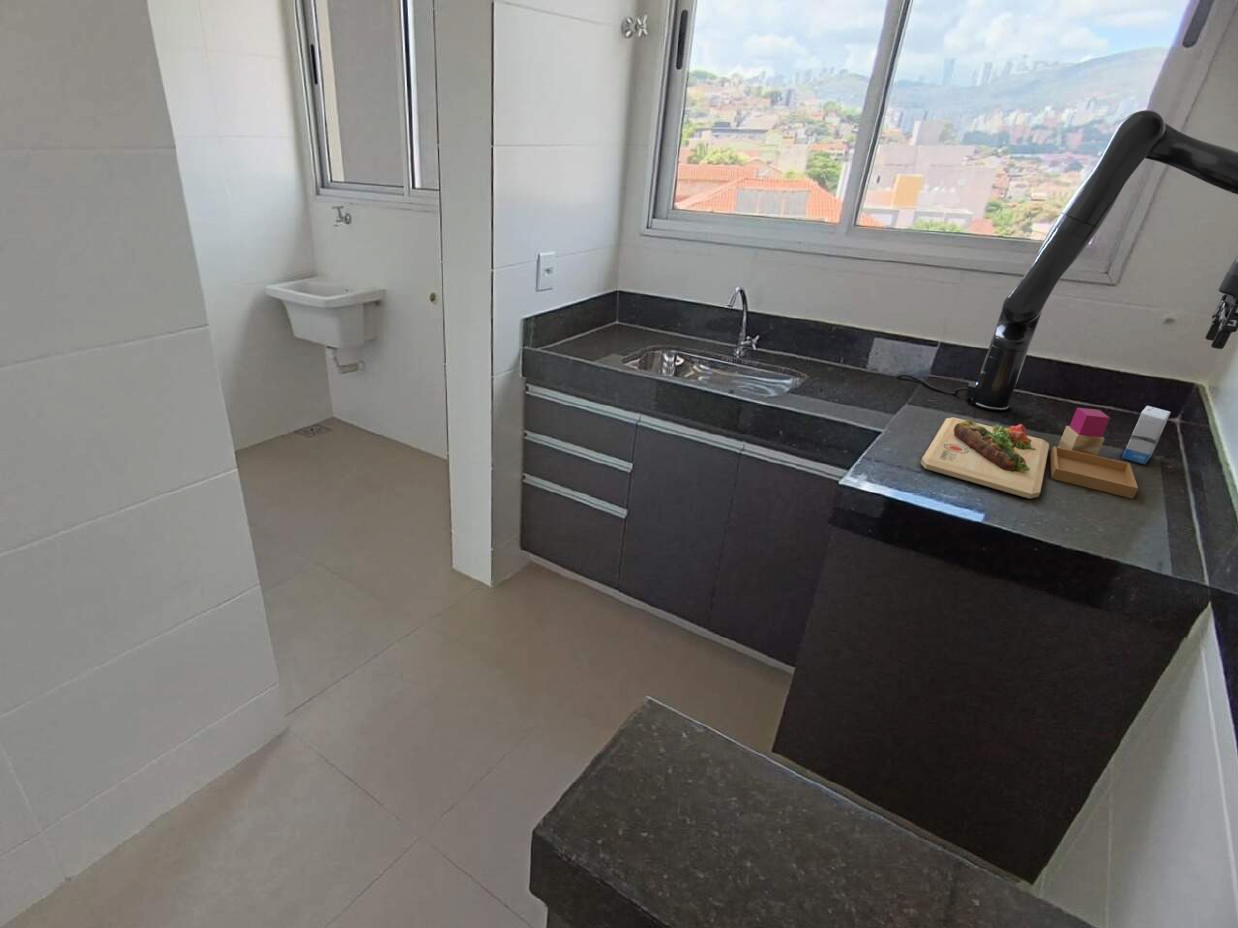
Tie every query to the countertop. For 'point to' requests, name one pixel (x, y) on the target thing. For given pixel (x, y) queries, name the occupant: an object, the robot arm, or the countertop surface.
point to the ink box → (1146, 434)
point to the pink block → (1089, 422)
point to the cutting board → (989, 456)
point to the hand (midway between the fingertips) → (1213, 344)
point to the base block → (1080, 442)
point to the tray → (1093, 472)
